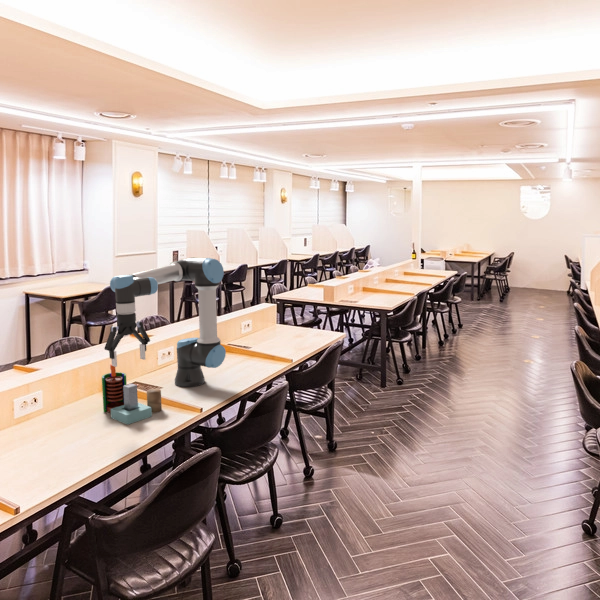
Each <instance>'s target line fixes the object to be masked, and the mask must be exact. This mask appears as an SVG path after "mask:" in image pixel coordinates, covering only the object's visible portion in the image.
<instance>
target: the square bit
mask: <svg viewBox="0 0 600 600" xmlns="http://www.w3.org/2000/svg"><path fill="white" fill-rule="evenodd" d="M123 391H124V409H125V410H127V411H132V410H135V409H138V403H139V402H138V401H139V398H138V384H134V383H129V384H127V385H124V386H123Z"/></svg>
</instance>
